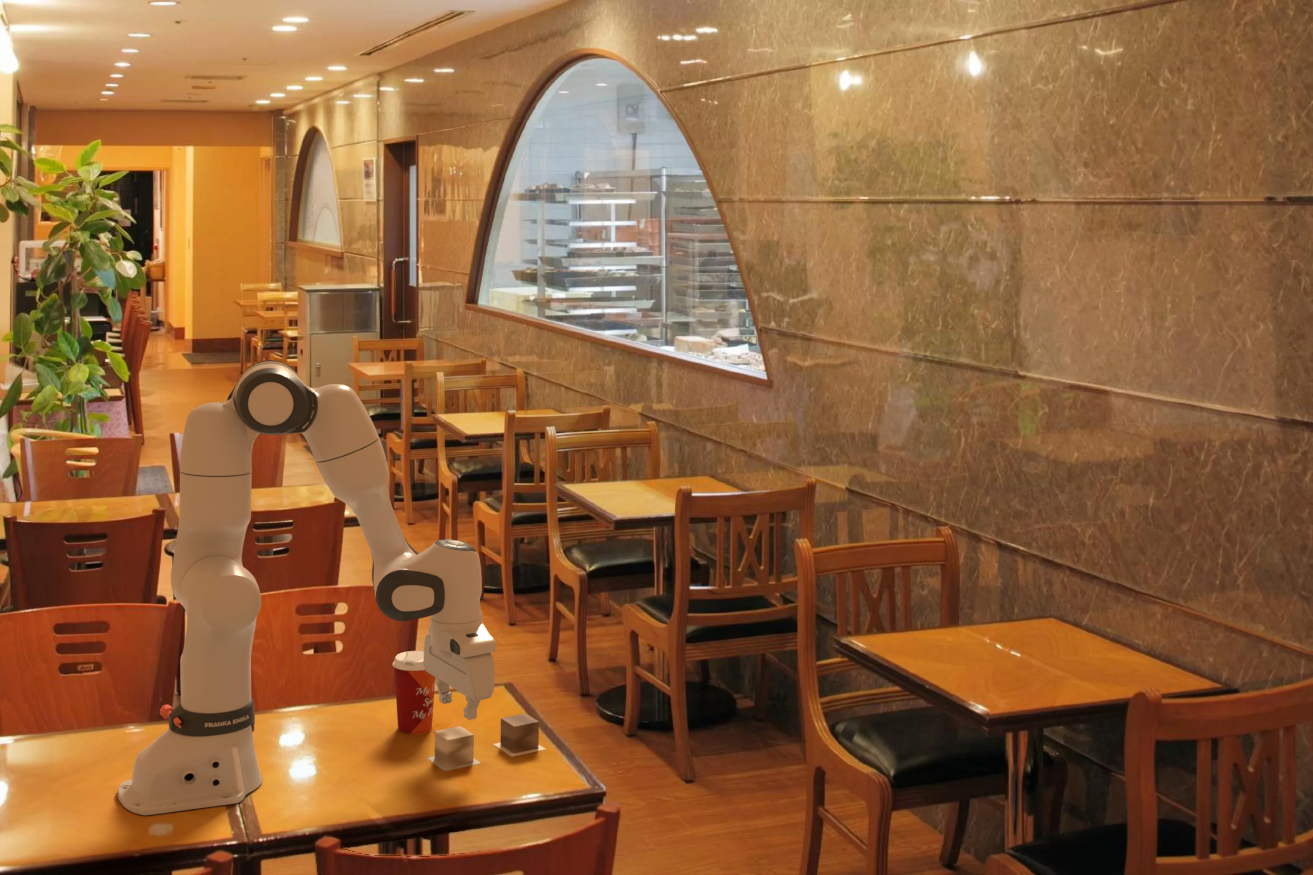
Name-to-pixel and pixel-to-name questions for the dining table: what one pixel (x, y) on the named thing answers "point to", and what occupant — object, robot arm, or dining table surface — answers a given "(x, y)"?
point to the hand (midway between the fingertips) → (457, 710)
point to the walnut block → (519, 733)
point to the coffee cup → (413, 693)
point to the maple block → (454, 746)
